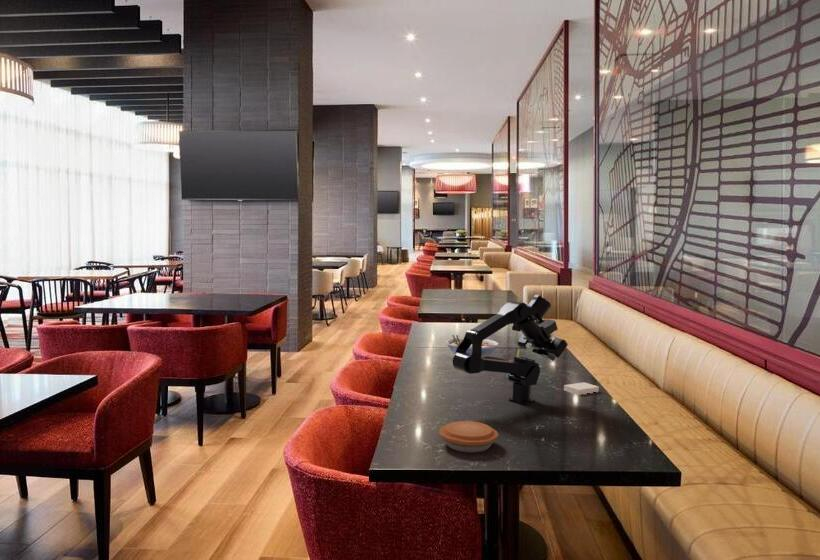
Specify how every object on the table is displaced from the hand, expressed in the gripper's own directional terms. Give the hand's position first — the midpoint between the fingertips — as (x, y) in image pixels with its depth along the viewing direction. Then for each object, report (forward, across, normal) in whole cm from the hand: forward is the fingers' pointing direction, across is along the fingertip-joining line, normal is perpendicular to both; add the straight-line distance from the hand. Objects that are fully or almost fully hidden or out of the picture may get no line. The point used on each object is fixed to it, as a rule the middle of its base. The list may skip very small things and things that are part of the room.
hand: (553, 359), depth 210 cm
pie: (-29, -24, +48) cm, 62 cm away
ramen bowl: (+17, +60, 0) cm, 62 cm away
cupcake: (+12, +25, +6) cm, 29 cm away
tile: (+15, 0, +2) cm, 15 cm away
